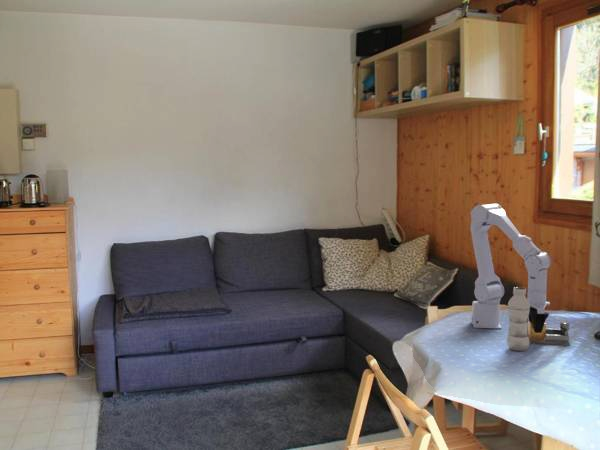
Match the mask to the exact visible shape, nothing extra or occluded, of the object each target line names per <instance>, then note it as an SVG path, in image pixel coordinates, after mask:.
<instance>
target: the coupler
mask: <svg viewBox="0 0 600 450" xmlns="http://www.w3.org/2000/svg"><path fill="white" fill-rule="evenodd" d="M569 331H570V322H568V321H560V322H559V328H550V327H549V328H547V327H546V332H545V338H530V337H529V341H530V344H536V345H537V344H539V345H541V344H542V345H559V346H561V345H563V346H570V345H571V343H570V336H569ZM528 336H529V335H528Z"/></svg>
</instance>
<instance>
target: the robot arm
mask: <svg viewBox="0 0 600 450" xmlns="http://www.w3.org/2000/svg"><path fill="white" fill-rule="evenodd" d="M470 217H471V222H470V233H471V241H472V244H473V251H474V256H475V262H476V267H477V273H478V277H477V278H476V279H475V281H474V290H473V291H474V296H475V299H476V300H473V301H472V306H471V311H472V312H471V323H472V326H473V328H477V329H500V330H501V329H502V325H501V324H500V305H501V304H500V302H501V299H502V297H503V296H504V294H505V287H504V286H503V284H502V282H501V278H500V277H499V276H498V275H497V274H495V268H494V263H493V259H492V252H491V247H490V246H491V245H490V241H489V234H488V230H489V229H490V228H491V226H497V227H498V228H499V229H500V230H501V231H502V232H503V233H504V235H506V236H507V237H508V238H509V239H510V240H511V241H512V247H513V249H514V250H515V251H516V252H517V253H518V254H519V256H520V257H521V258H522V259H523V260H524V266H525V268H526V271H527V299H528V301H529V303H530V311H529V317H528V320H533V326H534V332H535V333H542V330H543V326H544V323H546V320H547V319H548V317H549V316H550V313H549V312H545V308H546V307H547V306H550V305H551V303H550V301H547V284H548V283H547V282H548V269H549V268H551V265H552V258H551V257H550V256H549V254H548V253H547V252H545V251H541V249H540V248H538V247H537V246H536V245H535V244H534V242H533V240H532V238H531V237H530V236H528V235H522V234H521V233H520V231H519V230H518V229H517V228H516V226H515V225H514V224H513V222H512V221H511V220H510V219H509V217H508V216H507V214H506V210H505V209H504V208H503V207H502V206H501V205H500V204H499V203H496V202H494V203H493V202H492V203H489V204H476V205H475V206H474V207H473V209H472V210H471V211H470Z"/></svg>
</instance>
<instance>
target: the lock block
mask: <svg viewBox="0 0 600 450" xmlns="http://www.w3.org/2000/svg"><path fill="white" fill-rule="evenodd" d="M546 325H547V323H546V322H545V323H544V326H543V330H542V333H535V332H534V326H533V320H529V319H528V335H529V337H530V338H545V332H546V328H547V327H546Z"/></svg>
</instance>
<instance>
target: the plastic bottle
mask: <svg viewBox="0 0 600 450" xmlns="http://www.w3.org/2000/svg"><path fill="white" fill-rule="evenodd" d="M512 294H513V295H512V297H510V299H509V300H508V303H507V308H508V317H509V322H508V323H509V328H508V334H507V337H506V338H507V339H506V343H507V346H508V348H509V349H510V350H513V351H517V352H518V351H519V352H521V351H523V352H524V351H527V350H528V349H529V347H530V344H531V343H530V341H529V336H528V320H529V311H530V303H529V301H528V297H526V295H527V288H526V287H523V286H514V287H513V290H512Z"/></svg>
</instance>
